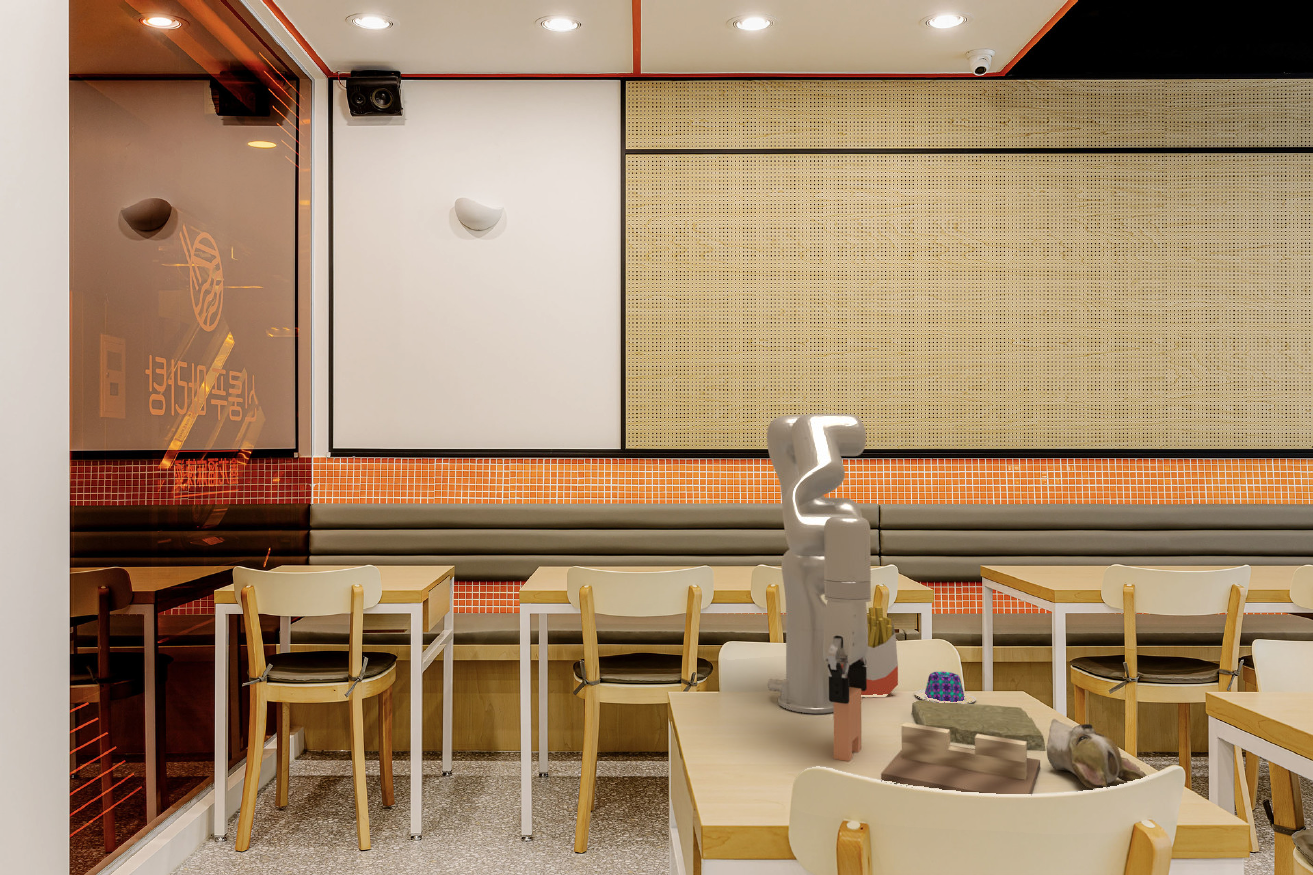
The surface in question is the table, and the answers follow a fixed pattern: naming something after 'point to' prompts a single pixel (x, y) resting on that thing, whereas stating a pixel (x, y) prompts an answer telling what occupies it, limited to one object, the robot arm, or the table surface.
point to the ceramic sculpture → (1088, 755)
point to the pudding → (944, 687)
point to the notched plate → (847, 726)
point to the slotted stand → (962, 763)
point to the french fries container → (880, 654)
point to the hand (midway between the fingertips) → (848, 695)
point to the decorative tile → (979, 722)
